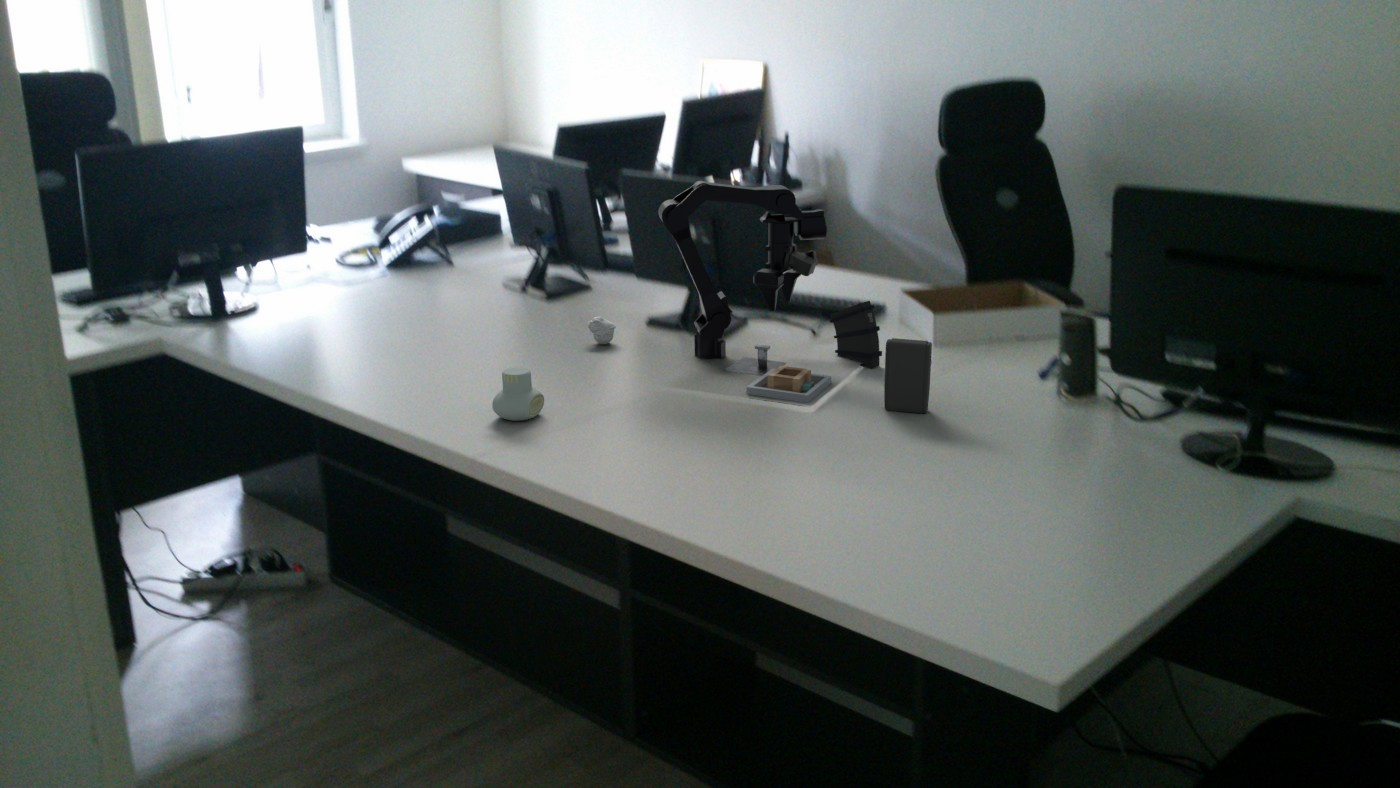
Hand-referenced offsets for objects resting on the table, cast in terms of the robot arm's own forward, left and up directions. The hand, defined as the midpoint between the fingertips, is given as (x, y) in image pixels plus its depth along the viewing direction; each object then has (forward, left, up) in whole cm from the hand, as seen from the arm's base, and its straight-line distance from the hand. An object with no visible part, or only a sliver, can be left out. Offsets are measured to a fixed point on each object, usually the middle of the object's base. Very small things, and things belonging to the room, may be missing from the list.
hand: (780, 306), depth 282 cm
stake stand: (0, -13, -12) cm, 18 cm away
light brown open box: (+13, -24, -11) cm, 30 cm away
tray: (+13, -24, -12) cm, 30 cm away
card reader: (+39, -25, -12) cm, 48 cm away
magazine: (+18, +2, -12) cm, 22 cm away
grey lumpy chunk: (-44, -9, -12) cm, 47 cm away
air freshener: (-33, -61, -12) cm, 70 cm away
